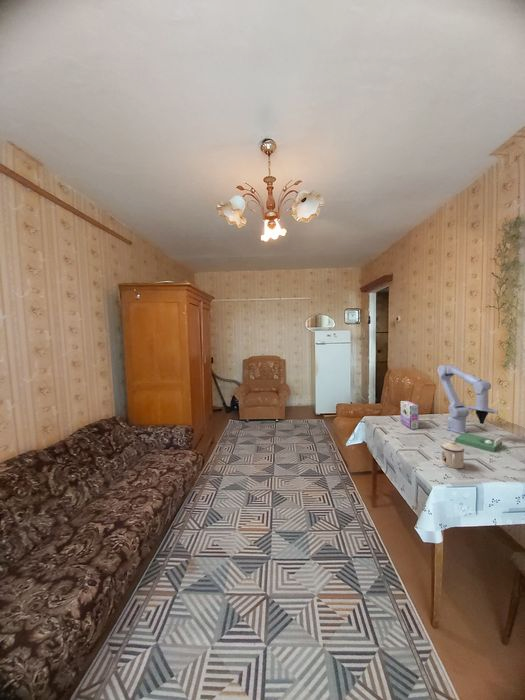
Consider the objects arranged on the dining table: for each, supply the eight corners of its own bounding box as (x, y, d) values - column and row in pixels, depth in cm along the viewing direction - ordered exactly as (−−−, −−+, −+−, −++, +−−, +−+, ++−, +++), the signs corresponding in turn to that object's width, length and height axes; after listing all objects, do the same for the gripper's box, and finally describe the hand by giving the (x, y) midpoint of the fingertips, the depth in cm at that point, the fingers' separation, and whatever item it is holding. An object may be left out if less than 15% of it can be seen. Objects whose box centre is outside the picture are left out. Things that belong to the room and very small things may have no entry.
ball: (486, 448, 153) (481, 441, 155) (489, 447, 155) (484, 441, 157) (492, 445, 151) (487, 439, 153) (495, 444, 153) (490, 438, 155)
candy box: (419, 429, 184) (418, 405, 183) (410, 429, 184) (410, 405, 184) (408, 422, 198) (408, 400, 197) (400, 423, 198) (400, 400, 197)
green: (455, 442, 161) (455, 434, 161) (464, 436, 169) (464, 428, 169) (495, 452, 146) (495, 443, 146) (503, 445, 154) (503, 437, 154)
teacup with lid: (441, 459, 141) (441, 436, 140) (463, 462, 136) (463, 439, 136) (442, 469, 131) (442, 445, 130) (465, 473, 126) (465, 448, 125)
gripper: (465, 399, 166) (464, 421, 167) (495, 404, 154) (495, 427, 155) (469, 398, 170) (469, 419, 171) (499, 402, 158) (499, 425, 159)
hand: (481, 423), depth 163 cm, fingers closed
